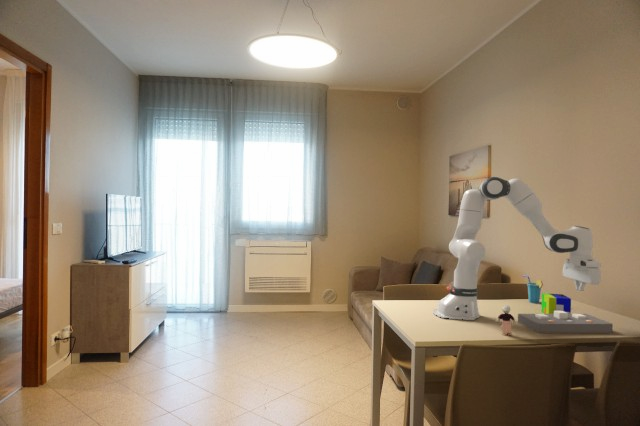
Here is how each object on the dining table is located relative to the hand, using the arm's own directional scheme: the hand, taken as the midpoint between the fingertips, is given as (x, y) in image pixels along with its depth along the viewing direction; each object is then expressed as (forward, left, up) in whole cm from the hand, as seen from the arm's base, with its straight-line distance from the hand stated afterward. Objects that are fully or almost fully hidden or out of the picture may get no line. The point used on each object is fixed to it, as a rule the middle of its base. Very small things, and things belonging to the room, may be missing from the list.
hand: (579, 290), depth 183 cm
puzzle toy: (+1, +18, -17) cm, 25 cm away
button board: (-9, -2, -17) cm, 19 cm away
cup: (+6, +46, -17) cm, 49 cm away
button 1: (-18, 0, -15) cm, 23 cm away
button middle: (-9, 0, -13) cm, 16 cm away
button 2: (0, 0, -15) cm, 15 cm away
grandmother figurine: (-42, -12, -17) cm, 47 cm away
